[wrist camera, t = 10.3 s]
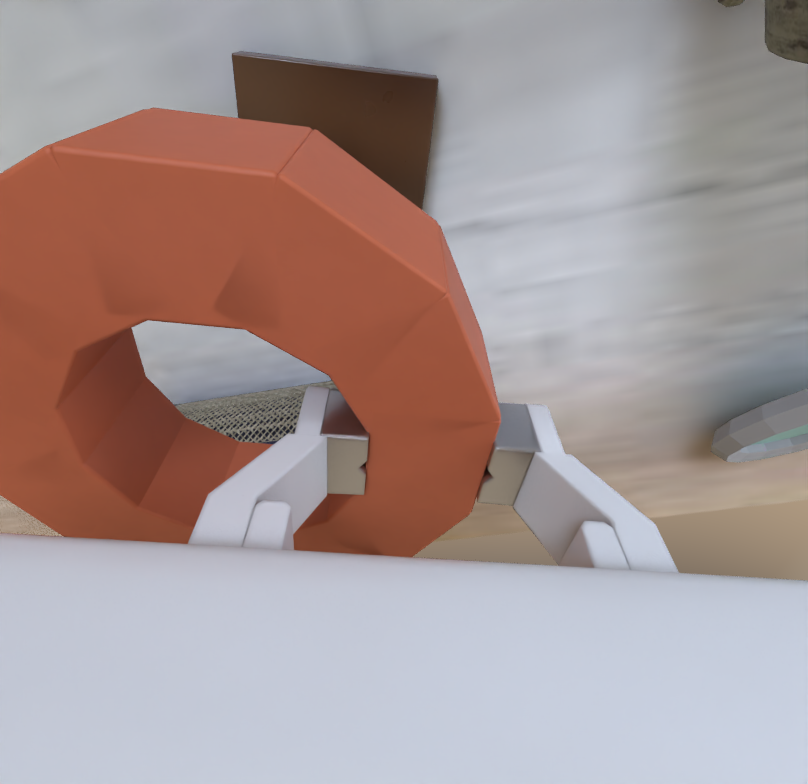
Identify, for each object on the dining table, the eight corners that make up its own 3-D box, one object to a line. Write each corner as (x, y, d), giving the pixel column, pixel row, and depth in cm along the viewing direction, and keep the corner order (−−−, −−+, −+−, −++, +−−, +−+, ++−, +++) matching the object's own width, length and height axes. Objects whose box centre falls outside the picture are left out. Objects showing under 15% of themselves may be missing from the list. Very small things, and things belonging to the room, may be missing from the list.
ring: (-88, 76, 8) (-297, 104, 6) (528, 153, 9) (573, 206, 7) (99, 484, 15) (40, 575, 13) (438, 509, 16) (443, 600, 14)
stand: (239, 50, 24) (97, 86, 13) (437, 75, 24) (462, 129, 13) (258, 243, 30) (173, 377, 19) (414, 259, 30) (419, 397, 20)
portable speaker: (440, 335, 34) (450, 431, 26) (456, 432, 40) (469, 533, 33) (126, 386, 37) (53, 485, 29) (186, 469, 43) (139, 569, 36)
